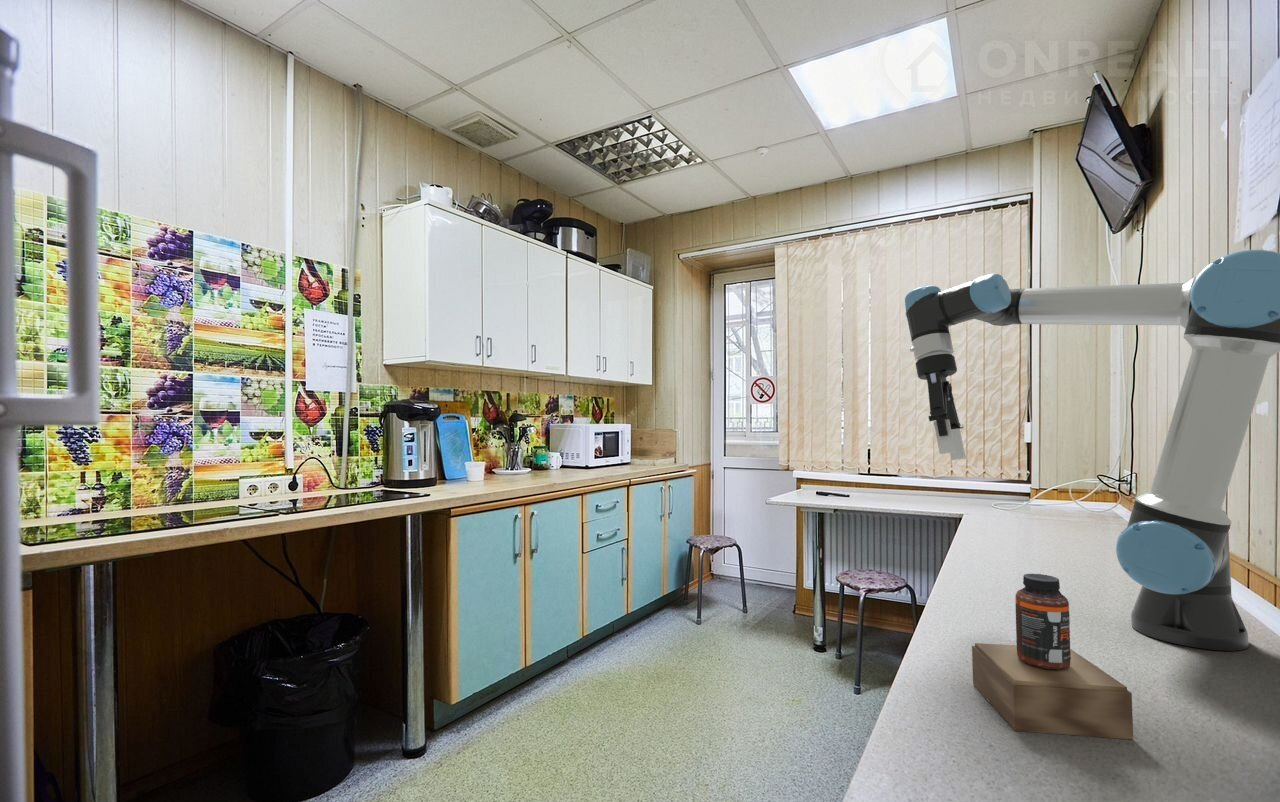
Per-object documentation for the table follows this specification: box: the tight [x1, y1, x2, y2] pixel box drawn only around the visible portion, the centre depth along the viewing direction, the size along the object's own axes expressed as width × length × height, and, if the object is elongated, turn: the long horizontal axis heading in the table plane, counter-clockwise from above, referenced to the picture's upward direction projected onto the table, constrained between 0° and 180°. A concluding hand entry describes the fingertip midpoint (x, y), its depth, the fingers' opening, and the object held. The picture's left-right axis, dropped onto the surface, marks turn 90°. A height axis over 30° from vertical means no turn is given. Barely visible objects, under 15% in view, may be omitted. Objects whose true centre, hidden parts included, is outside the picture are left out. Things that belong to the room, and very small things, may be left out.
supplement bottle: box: [1014, 573, 1071, 670], centre depth 78 cm, size 6×6×11 cm
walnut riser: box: [971, 642, 1134, 740], centre depth 77 cm, size 13×13×6 cm
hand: (953, 456), depth 119 cm, fingers open, 13 cm apart
